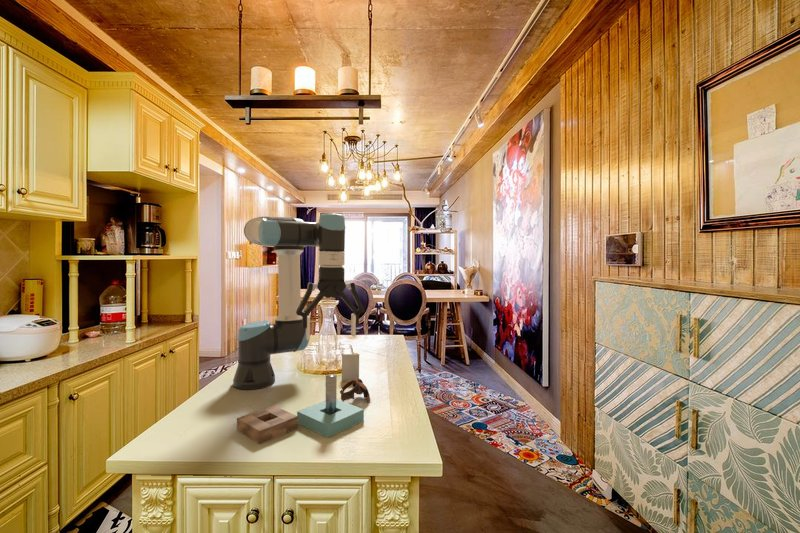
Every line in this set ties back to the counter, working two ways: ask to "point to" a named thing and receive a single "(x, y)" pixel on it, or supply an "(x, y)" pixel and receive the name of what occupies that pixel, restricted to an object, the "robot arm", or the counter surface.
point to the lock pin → (331, 393)
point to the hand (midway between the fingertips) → (331, 337)
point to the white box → (350, 366)
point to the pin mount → (267, 424)
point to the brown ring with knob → (354, 390)
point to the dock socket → (330, 418)
